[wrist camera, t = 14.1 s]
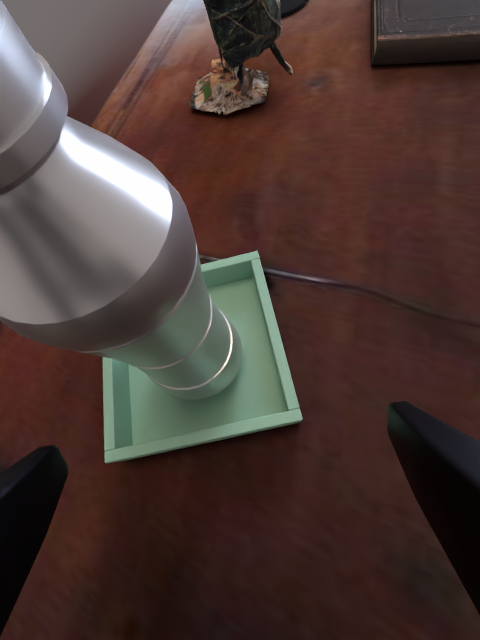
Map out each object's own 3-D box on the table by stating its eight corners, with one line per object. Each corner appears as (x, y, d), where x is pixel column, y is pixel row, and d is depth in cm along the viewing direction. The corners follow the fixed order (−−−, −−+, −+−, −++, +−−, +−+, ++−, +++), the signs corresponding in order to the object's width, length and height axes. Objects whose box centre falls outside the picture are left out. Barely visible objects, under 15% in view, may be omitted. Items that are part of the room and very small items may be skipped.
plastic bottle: (195, 304, 24) (-72, -114, 6) (264, 350, 22) (178, -80, 4) (143, 368, 23) (-430, 81, 4) (210, 424, 21) (-353, 313, 2)
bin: (300, 422, 21) (302, 420, 18) (127, 460, 21) (104, 463, 18) (260, 271, 25) (257, 250, 23) (120, 304, 26) (100, 289, 23)
